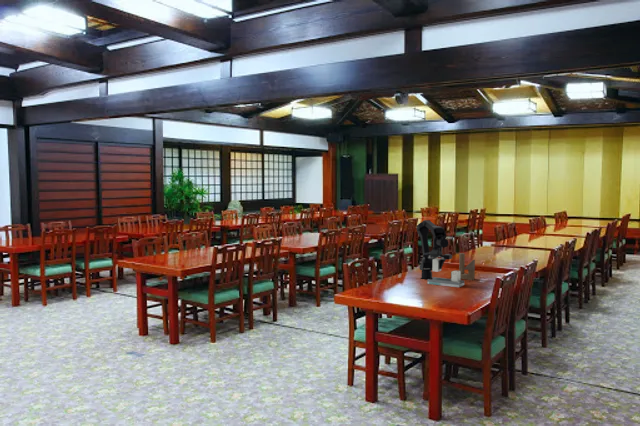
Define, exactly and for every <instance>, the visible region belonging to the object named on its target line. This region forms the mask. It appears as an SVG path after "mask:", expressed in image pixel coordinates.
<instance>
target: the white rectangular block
mask: <svg viewBox="0 0 640 426" xmlns="http://www.w3.org/2000/svg"><path fill="white" fill-rule="evenodd" d="M440 259H441V258H439V257H437V258H435V259H433V266H432V272H436V273H437V272H441V271H442V269H443V267H442V268H441V269H440Z"/></svg>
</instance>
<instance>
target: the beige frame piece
mask: <svg viewBox="0 0 640 426" xmlns="http://www.w3.org/2000/svg"><path fill="white" fill-rule="evenodd" d="M465 256H466V253H464V252H459V259H458V260H459V267H458V271H461V276H460V280H469V281H474V280H475V277H476V276H475V273H476V272H475V270H476V260H475V259H472V260H471V261H470V262H469V263H468V264H467V265H466V266H465V263H466V262H465V261H466V259H465V258H466V257H465ZM465 270H467V273H465Z"/></svg>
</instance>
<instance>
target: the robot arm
mask: <svg viewBox="0 0 640 426" xmlns="http://www.w3.org/2000/svg"><path fill="white" fill-rule="evenodd" d="M415 228H416V233H417V235H418V236H419V237H420V244H421V251H422V257H421V263H420V265H419V270H420V271H421V277H420V279H422V280H427V279H432V280H433V271H432V266H433V259H436V258H439V259H440V269H441V268H442V269H443V265H444V263H445V262H446V260H447V261H448V260H452V259H453V255H452V254H450V253H449V254H448V253H446V254H443V248H447V247H448V246H449V241H448V240H447V234H446V232H445V230H444V227H443V226H440V225H436V224H435V223H433V222H432V221H431V220H430V219H426V220H425V219H424V220H423V221H422V222H419V223H418V224H417V225H416V227H415ZM430 231H431V235H432V240H433V241H432V242H433V246H432V248H431V249H432V250H430V247H429V239H428V235H429V232H430ZM442 269H441V270H442Z"/></svg>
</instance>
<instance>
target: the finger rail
mask: <svg viewBox="0 0 640 426" xmlns="http://www.w3.org/2000/svg"><path fill="white" fill-rule="evenodd" d="M460 276H461V271H459V270H452V271H451V272H450V278H447V277H435V276H432V279H426V281H427V283H426V284H427V285H435V286H436V285H437V286H445V287H452V288H461V287H463V286H465V279H460Z"/></svg>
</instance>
